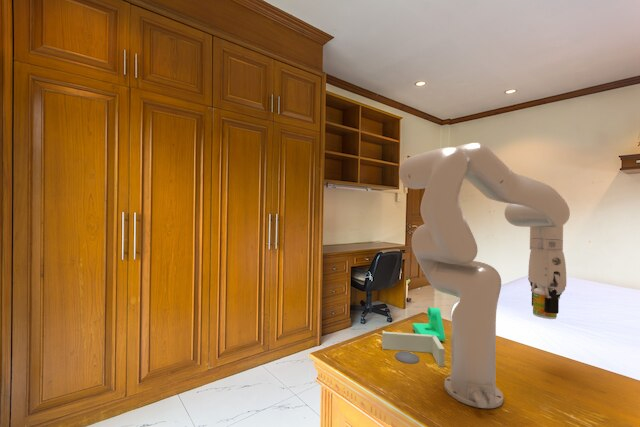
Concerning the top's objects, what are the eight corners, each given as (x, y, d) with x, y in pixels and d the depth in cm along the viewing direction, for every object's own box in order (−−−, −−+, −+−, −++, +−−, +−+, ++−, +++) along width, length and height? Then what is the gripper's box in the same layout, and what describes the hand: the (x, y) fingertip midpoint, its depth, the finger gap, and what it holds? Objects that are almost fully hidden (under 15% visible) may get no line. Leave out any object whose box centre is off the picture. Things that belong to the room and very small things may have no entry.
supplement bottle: (528, 314, 85) (529, 280, 86) (540, 313, 87) (541, 279, 87) (548, 320, 80) (549, 284, 81) (561, 318, 82) (561, 283, 82)
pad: (421, 364, 85) (421, 363, 85) (396, 362, 86) (396, 361, 86) (416, 353, 92) (417, 352, 92) (393, 351, 93) (393, 350, 93)
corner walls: (444, 366, 84) (444, 349, 84) (384, 361, 86) (384, 344, 86) (435, 351, 94) (435, 335, 94) (381, 346, 97) (382, 331, 97)
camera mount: (412, 330, 113) (412, 302, 113) (432, 330, 112) (432, 303, 113) (422, 343, 101) (422, 312, 101) (444, 343, 101) (445, 313, 101)
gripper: (582, 248, 75) (581, 320, 75) (542, 244, 92) (540, 303, 92) (550, 246, 76) (548, 317, 76) (516, 243, 93) (514, 301, 93)
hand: (544, 309), depth 84 cm, fingers closed on supplement bottle, 5 cm apart
